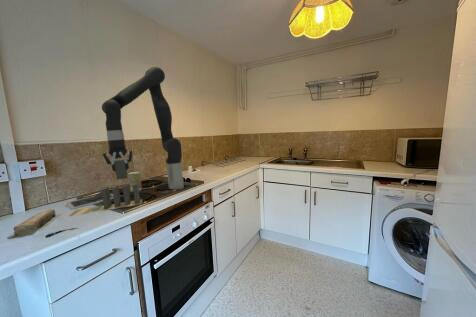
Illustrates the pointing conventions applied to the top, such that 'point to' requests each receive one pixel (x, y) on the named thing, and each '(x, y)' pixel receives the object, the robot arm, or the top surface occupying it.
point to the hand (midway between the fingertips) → (121, 170)
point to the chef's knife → (58, 232)
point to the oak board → (101, 208)
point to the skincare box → (134, 180)
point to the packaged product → (34, 224)
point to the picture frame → (86, 201)
